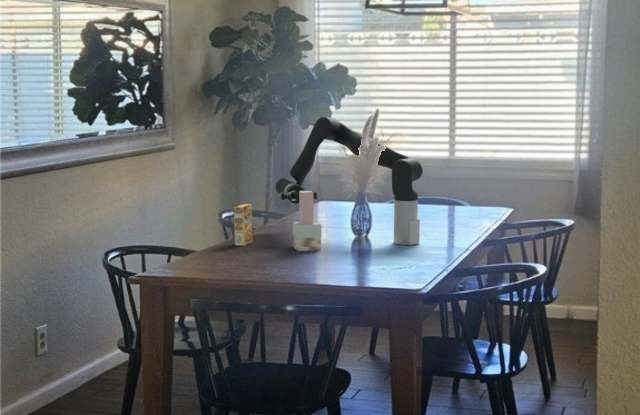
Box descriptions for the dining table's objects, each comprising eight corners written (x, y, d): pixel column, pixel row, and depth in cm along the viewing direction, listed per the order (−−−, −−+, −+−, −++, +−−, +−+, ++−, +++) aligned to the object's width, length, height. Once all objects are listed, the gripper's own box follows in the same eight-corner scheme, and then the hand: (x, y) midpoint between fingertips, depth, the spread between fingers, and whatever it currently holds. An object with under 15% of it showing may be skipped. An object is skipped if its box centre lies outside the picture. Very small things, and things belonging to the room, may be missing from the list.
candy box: (244, 246, 369) (243, 206, 367) (234, 245, 370) (233, 206, 368) (252, 242, 377) (252, 204, 375) (242, 241, 378) (242, 203, 376)
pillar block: (311, 222, 364) (310, 190, 363) (313, 223, 360) (313, 192, 359) (299, 222, 364) (299, 191, 362) (301, 224, 359) (301, 192, 358)
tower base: (316, 246, 369) (316, 233, 368) (320, 250, 360) (320, 237, 359) (293, 247, 367) (293, 234, 366) (297, 251, 358) (297, 238, 358)
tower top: (315, 233, 368) (315, 221, 367) (321, 237, 359) (321, 224, 359) (292, 234, 366) (292, 221, 365) (298, 238, 357) (298, 225, 357)
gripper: (277, 184, 386) (283, 188, 370) (311, 183, 389) (319, 188, 373) (277, 202, 387) (283, 207, 371) (311, 201, 390) (319, 207, 374)
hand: (301, 197), depth 372 cm, fingers open, 8 cm apart
